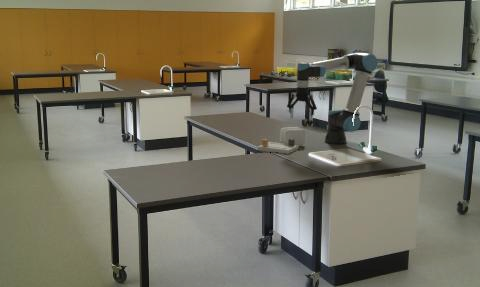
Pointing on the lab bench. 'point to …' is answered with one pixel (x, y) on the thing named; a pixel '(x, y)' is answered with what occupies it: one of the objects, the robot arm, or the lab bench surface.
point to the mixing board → (278, 147)
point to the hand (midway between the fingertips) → (301, 119)
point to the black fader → (291, 142)
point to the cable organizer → (292, 135)
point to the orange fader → (265, 142)
